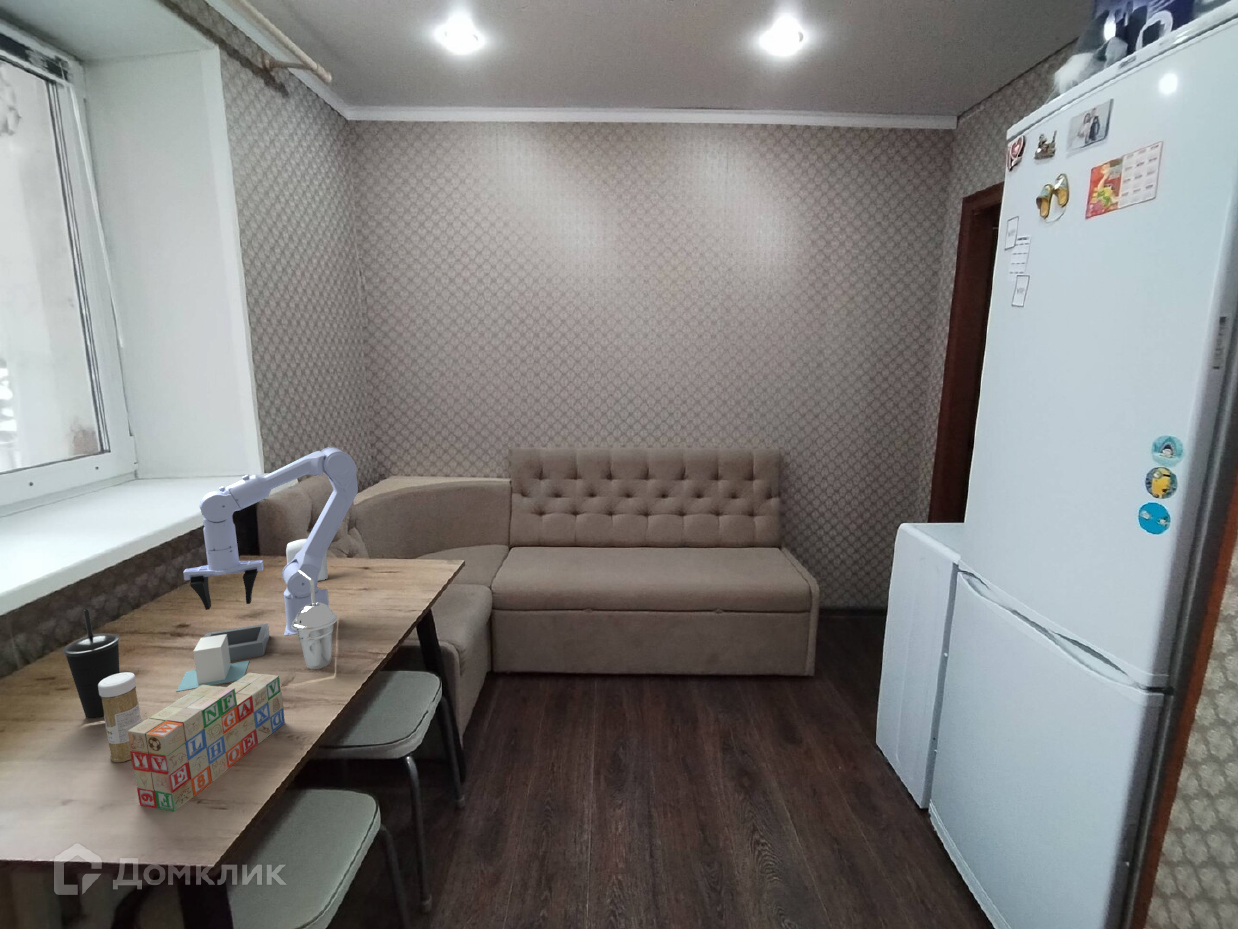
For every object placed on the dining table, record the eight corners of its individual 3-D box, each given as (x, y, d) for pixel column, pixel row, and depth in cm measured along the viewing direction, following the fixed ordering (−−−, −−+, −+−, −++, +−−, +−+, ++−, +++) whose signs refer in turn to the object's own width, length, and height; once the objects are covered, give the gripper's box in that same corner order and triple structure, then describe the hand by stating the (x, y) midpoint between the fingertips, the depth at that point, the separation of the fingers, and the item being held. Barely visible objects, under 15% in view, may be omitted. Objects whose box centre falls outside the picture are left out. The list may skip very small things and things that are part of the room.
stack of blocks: (255, 719, 106) (248, 655, 104) (286, 723, 105) (278, 659, 103) (138, 806, 85) (125, 730, 83) (174, 813, 84) (162, 735, 82)
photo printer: (329, 575, 175) (325, 535, 173) (327, 580, 171) (323, 539, 169) (290, 579, 172) (286, 539, 170) (287, 585, 168) (283, 543, 166)
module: (230, 665, 123) (226, 634, 122) (224, 679, 118) (220, 646, 116) (205, 669, 121) (200, 638, 120) (197, 684, 116) (193, 651, 115)
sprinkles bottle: (107, 755, 96) (94, 679, 94) (142, 741, 100) (131, 668, 97) (113, 767, 93) (100, 689, 91) (149, 753, 97) (138, 677, 94)
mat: (249, 663, 125) (249, 660, 125) (243, 681, 118) (243, 678, 118) (186, 674, 121) (186, 671, 121) (176, 694, 114) (176, 691, 113)
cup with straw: (294, 680, 119) (284, 585, 115) (297, 659, 127) (288, 570, 123) (341, 671, 122) (333, 579, 119) (341, 651, 130) (333, 565, 127)
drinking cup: (68, 730, 103) (49, 622, 99) (83, 707, 109) (65, 605, 106) (124, 718, 106) (107, 613, 102) (135, 697, 113) (119, 598, 109)
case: (269, 637, 137) (268, 623, 136) (264, 657, 128) (262, 642, 127) (207, 647, 132) (205, 633, 131) (197, 669, 123) (195, 653, 122)
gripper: (176, 556, 123) (185, 618, 125) (257, 547, 128) (264, 606, 131) (185, 546, 129) (193, 605, 131) (261, 538, 135) (268, 595, 137)
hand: (228, 605), depth 132 cm, fingers open, 7 cm apart
